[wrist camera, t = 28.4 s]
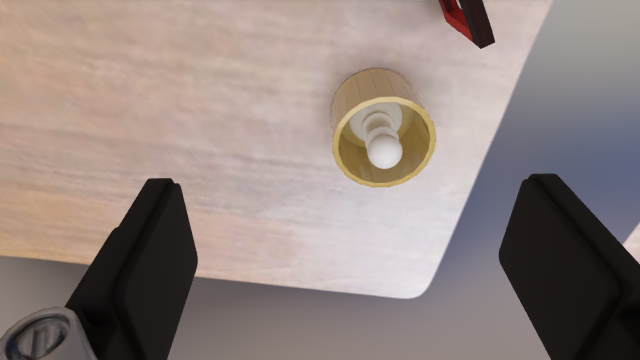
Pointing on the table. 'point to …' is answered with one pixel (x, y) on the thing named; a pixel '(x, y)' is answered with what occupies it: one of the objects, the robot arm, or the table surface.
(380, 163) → the chess pawn
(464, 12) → the mug
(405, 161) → the yellow cup
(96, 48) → the table surface
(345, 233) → the table surface
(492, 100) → the table surface
